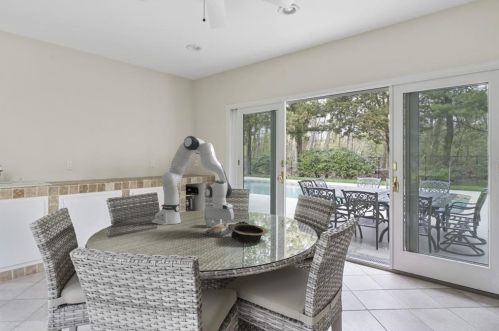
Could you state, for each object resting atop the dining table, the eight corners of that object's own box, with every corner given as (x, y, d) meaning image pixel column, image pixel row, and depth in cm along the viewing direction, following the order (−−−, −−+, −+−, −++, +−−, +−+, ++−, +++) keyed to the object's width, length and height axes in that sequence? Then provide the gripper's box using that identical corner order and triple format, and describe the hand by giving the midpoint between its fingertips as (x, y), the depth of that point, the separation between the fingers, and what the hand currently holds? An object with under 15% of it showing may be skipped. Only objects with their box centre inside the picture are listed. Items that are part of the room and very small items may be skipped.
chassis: (201, 235, 187) (201, 228, 187) (218, 228, 206) (218, 221, 206) (220, 237, 182) (220, 230, 181) (235, 230, 201) (235, 223, 201)
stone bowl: (222, 236, 185) (223, 221, 185) (257, 235, 194) (258, 221, 195) (234, 246, 162) (235, 229, 162) (274, 245, 171) (275, 229, 172)
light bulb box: (222, 225, 216) (222, 210, 216) (220, 227, 209) (220, 212, 209) (208, 224, 217) (208, 210, 217) (205, 226, 210) (206, 211, 210)
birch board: (210, 231, 189) (211, 227, 189) (220, 227, 201) (221, 223, 201) (217, 232, 187) (217, 228, 187) (227, 228, 199) (227, 224, 199)
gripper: (203, 204, 195) (203, 225, 195) (230, 207, 186) (230, 228, 187) (208, 203, 201) (208, 223, 201) (235, 205, 192) (234, 226, 193)
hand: (219, 225), depth 194 cm, fingers open, 8 cm apart
